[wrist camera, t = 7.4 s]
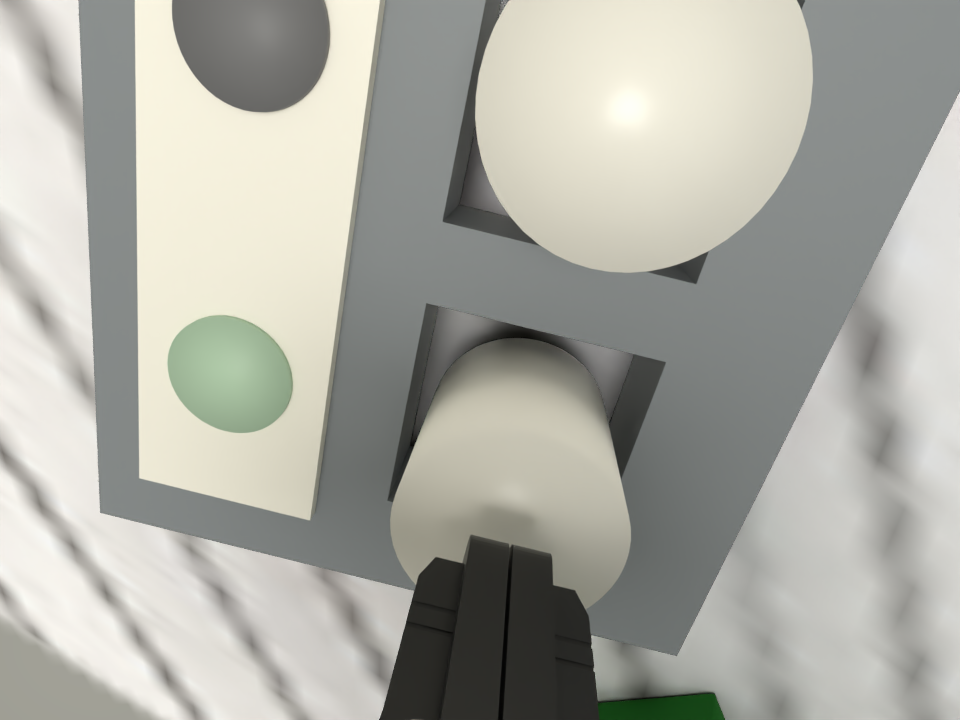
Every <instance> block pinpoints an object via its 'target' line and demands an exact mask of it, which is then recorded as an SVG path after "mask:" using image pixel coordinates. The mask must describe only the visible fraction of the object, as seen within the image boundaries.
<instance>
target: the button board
mask: <svg viewBox="0 0 960 720" xmlns="http://www.w3.org/2000/svg"><path fill="white" fill-rule="evenodd" d="M797 2H798V4H799V6H800V8H801V11H802V14H803V17H804V20H805V23H806V26H807V30H808V34H809V40H810V46H811V52H812V66H813V85H812V95H811V105H810V110H809V114H808V119H807V123H806V128H805V131H804V134H803V136H802V139H801V142H800V145H799V148H798V151H797V153H796V155H795V157H794V159H793V161H792V163H791V165H790V167H789V169H788V171H787V173H786V175H785V176H784V178H783V180H782V181H781V183H780V184H779V186H778V187H777V189H776V191H775V192H774V193H773V195H772V196H771V197H770V198H769V200H768V201H767V202H766V203H765V205H764V206H763V207H762V208H761V210H760V211H759V212H758V213H757V214H756V215H755V216H754V217H753V218H752V219H751V220H750V221H749V222H748V223H747V224H746V225H745V226H744V227H742V228H741V229H740V230H738V231H737V232H736V233H735V234H733V235H732V236H731V237H730V238H728V239H727V240H726V241H724V242H722V243H721V244H719V245H718V246H716V247H714V248H713V249H711V250H710V251H708V252H706V253H704V254H702V255H699V256H697V257H695V258H693V259H691V260H689V261H686V262H683V263H680V264H677V265H674V266H671V267H667V268H662V269H657V270H653V271H646V272H633V273H622V272H607V271H601V270H596V269H590V268H587V267H584V266H581V265H578V264H574V263H571V262H569V261H567V260H565V259H563V258H561V257H559V256H556V255H554V254H553V253H551V252H550V251H548V250H547V249H545V248H543V247H542V246H540V245H539V244H537V243H536V242H535V241H534V240H533V239H532V238H530V237H529V236H528V235H527V234H526V233H525V232H523V231H522V229H521V228H520V227H519V226H518V225H517V224H516V223H515V222H514V221H513V219H512V218H511V217H507V216H503V215H499V214H495V213H491V212H487V211H483V210H479V209H475V208H470V207H466V206H462V205H459V203H460V199H461V194H462V189H463V184H464V179H465V174H466V169H467V164H468V160H469V155H470V150H471V145H472V140H473V135H474V130H475V126H476V121H475V107H476V91H477V84H478V76H479V71H480V67H481V63H482V60H483V56H484V52H485V49H486V46H487V44H488V41H489V39H490V36H491V34H492V31H493V29H494V26H495V24H496V23H497V18H498V14H499V9H500V4H501V0H385V8H384V15H383V22H382V29H381V37H380V44H379V51H378V58H377V66H376V73H375V80H374V88H373V95H372V102H371V109H370V117H369V124H368V131H367V138H366V146H365V153H364V160H363V167H362V175H361V182H360V189H359V197H358V204H357V211H356V218H355V226H354V233H353V240H352V247H351V255H350V262H349V269H348V276H347V284H346V291H345V298H344V305H343V313H342V320H341V327H340V335H339V342H338V349H337V356H336V364H335V371H334V378H333V385H332V393H331V400H330V407H329V414H328V422H327V429H326V436H325V444H324V451H323V458H322V465H321V473H320V480H319V487H318V494H317V502H316V509H315V513H314V515H313V516H312V518H311V520H306V519H302V518H298V517H294V516H290V515H285V514H281V513H277V512H273V511H269V510H265V509H261V508H257V507H253V506H249V505H245V504H241V503H237V502H233V501H229V500H225V499H221V498H217V497H213V496H209V495H205V494H201V493H197V492H193V491H189V490H185V489H181V488H177V487H173V486H169V485H165V484H161V483H157V482H153V481H149V480H144V479H140V478H139V396H138V290H137V184H136V78H135V0H79V22H80V46H81V69H82V93H83V116H84V140H85V164H86V187H87V211H88V234H89V258H90V282H91V305H92V329H93V352H94V376H95V400H96V423H97V447H98V470H99V494H100V513H104V514H108V515H112V516H116V517H120V518H124V519H128V520H132V521H136V522H140V523H144V524H148V525H152V526H156V527H160V528H164V529H168V530H172V531H176V532H180V533H184V534H188V535H192V536H196V537H200V538H204V539H208V540H212V541H216V542H220V543H224V544H228V545H232V546H236V547H240V548H244V549H248V550H252V551H256V552H260V553H264V554H269V555H273V556H277V557H281V558H285V559H289V560H293V561H297V562H301V563H305V564H309V565H313V566H317V567H321V568H325V569H329V570H333V571H337V572H341V573H345V574H349V575H353V576H357V577H361V578H365V579H369V580H373V581H377V582H381V583H385V584H389V585H393V586H397V587H401V588H405V589H409V590H413V591H415V587H416V585H415V583H414V582H413V581H412V580H411V579H410V577H409V576H408V575H407V573H406V572H405V570H404V569H403V567H402V565H401V563H400V561H399V559H398V558H397V555H396V552H395V549H394V546H393V542H392V537H391V530H390V517H391V509H392V505H393V501H394V498H395V494H396V492H397V489H398V487H399V484H400V482H401V479H402V476H403V474H404V471H405V469H406V466H407V464H408V461H409V459H410V456H411V453H412V451H413V448H414V447H410V442H411V437H412V432H413V427H414V422H415V417H416V413H417V408H418V403H419V398H420V393H421V388H422V383H423V379H424V374H425V369H426V364H427V359H428V354H429V349H430V344H431V340H432V335H433V330H434V325H435V320H436V315H437V310H438V306H440V307H444V308H448V309H452V310H456V311H460V312H465V313H469V314H473V315H477V316H481V317H485V318H489V319H493V320H497V321H501V322H505V323H509V324H513V325H517V326H521V327H525V328H530V329H534V330H538V331H542V332H546V333H550V334H554V335H558V336H562V337H566V338H570V339H574V340H578V341H582V342H586V343H590V344H594V345H599V346H603V347H607V348H611V349H615V350H619V351H623V352H627V353H631V354H635V355H634V358H633V360H632V363H631V366H630V369H629V372H628V374H627V377H626V380H625V383H624V385H623V388H622V391H621V394H620V397H619V399H618V402H617V405H616V408H615V411H614V413H613V416H612V419H611V422H610V425H609V428H610V433H611V438H612V442H613V447H614V451H615V456H616V460H617V465H618V469H619V474H620V478H621V483H622V487H623V492H624V496H625V501H626V505H627V510H628V514H629V520H630V526H631V543H630V550H629V555H628V558H627V561H626V564H625V566H624V568H623V570H622V572H621V574H620V576H619V578H618V579H617V581H616V582H615V583H614V585H613V586H612V588H611V589H610V590H609V591H608V592H607V593H606V594H605V595H604V596H603V597H602V598H601V599H599V600H598V601H597V602H596V603H594V604H593V605H592V606H590V607H588V608H587V609H585V610H586V612H587V614H588V615H589V622H590V632H591V635H594V636H598V637H602V638H607V639H611V640H615V641H619V642H623V643H627V644H631V645H635V646H639V647H643V648H647V649H651V650H655V651H659V652H663V653H667V654H671V655H675V656H677V654H678V652H679V650H680V649H681V647H682V645H683V643H684V641H685V639H686V637H687V635H688V633H689V631H690V629H691V627H692V625H693V623H694V621H695V619H696V617H697V615H698V613H699V611H700V609H701V607H702V605H703V603H704V601H705V599H706V597H707V595H708V593H709V591H710V589H711V587H712V585H713V583H714V581H715V579H716V577H717V575H718V573H719V571H720V569H721V567H722V565H723V563H724V561H725V559H726V557H727V555H728V553H729V551H730V549H731V547H732V545H733V543H734V541H735V539H736V537H737V535H738V533H739V531H740V529H741V527H742V525H743V523H744V521H745V519H746V517H747V515H748V513H749V511H750V509H751V507H752V505H753V503H754V501H755V499H756V497H757V495H758V493H759V491H760V489H761V487H762V485H763V483H764V481H765V479H766V477H767V475H768V473H769V471H770V469H771V467H772V465H773V463H774V461H775V459H776V457H777V455H778V453H779V451H780V449H781V447H782V445H783V443H784V441H785V439H786V437H787V435H788V433H789V431H790V429H791V427H792V425H793V423H794V421H795V419H796V417H797V415H798V413H799V411H800V409H801V407H802V405H803V403H804V401H805V399H806V397H807V395H808V393H809V391H810V389H811V387H812V385H813V383H814V381H815V379H816V377H817V375H818V373H819V371H820V369H821V367H822V365H823V363H824V361H825V359H826V357H827V355H828V353H829V351H830V349H831V347H832V345H833V343H834V341H835V339H836V337H837V335H838V333H839V331H840V329H841V327H842V325H843V323H844V321H845V319H846V317H847V315H848V313H849V311H850V309H851V307H852V305H853V303H854V301H855V299H856V297H857V295H858V293H859V291H860V289H861V287H862V285H863V283H864V281H865V279H866V277H867V275H868V273H869V271H870V269H871V267H872V265H873V263H874V261H875V259H876V257H877V255H878V254H879V252H880V250H881V248H882V246H883V244H884V242H885V240H886V238H887V236H888V234H889V232H890V230H891V228H892V226H893V224H894V222H895V220H896V218H897V216H898V214H899V212H900V210H901V208H902V206H903V204H904V202H905V200H906V198H907V196H908V194H909V192H910V190H911V188H912V186H913V184H914V182H915V180H916V178H917V176H918V174H919V172H920V170H921V168H922V166H923V164H924V162H925V160H926V158H927V156H928V154H929V152H930V150H931V148H932V146H933V144H934V142H935V140H936V138H937V136H938V134H939V132H940V130H941V128H942V126H943V124H944V122H945V120H946V118H947V116H948V114H949V112H950V110H951V108H952V106H953V104H954V102H955V100H956V98H957V96H958V94H959V92H960V0H797Z"/></svg>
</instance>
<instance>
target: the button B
mask: <svg viewBox="0 0 960 720" xmlns="http://www.w3.org/2000/svg"><path fill="white" fill-rule="evenodd" d="M812 85H813V66H812V52H811V46H810V40H809V34H808V30H807V26H806V23H805V20H804V17H803V14H802V11H801V8H800V6H799V4H798V2H797V0H509V1H508V3H507V4H506V6H505V8H504V10H503V11H502V13H501V15H500V17H499V19H498V21H497V23H496V24H495V26H494V29H493V31H492V34H491V36H490V39H489V41H488V44H487V46H486V49H485V52H484V56H483V60H482V63H481V67H480V71H479V76H478V84H477V91H476V107H475V121H476V131H477V141H478V146H479V150H480V155H481V159H482V163H483V166H484V169H485V171H486V174H487V177H488V180H489V182H490V184H491V186H492V188H493V190H494V192H495V194H496V196H497V198H498V200H499V201H500V203H501V204H502V206H503V207H504V209H505V210H506V212H507V213H508V214H509V216H510V217H511V218H512V219H513V221H514V222H515V223H516V224H517V225H518V226H519V227H520V228H521V229H522V231H523V232H525V233H526V234H527V235H528V236H529V237H530V238H532V239H533V240H534V241H535V242H536V243H537V244H539V245H540V246H542V247H543V248H545V249H547V250H548V251H550V252H551V253H553V254H554V255H556V256H559V257H561V258H563V259H565V260H567V261H569V262H571V263H574V264H578V265H581V266H584V267H587V268H590V269H596V270H601V271H607V272H622V273H633V272H646V271H653V270H657V269H662V268H667V267H671V266H674V265H677V264H680V263H683V262H686V261H689V260H691V259H693V258H695V257H697V256H699V255H702V254H704V253H706V252H708V251H710V250H711V249H713V248H714V247H716V246H718V245H719V244H721V243H722V242H724V241H726V240H727V239H728V238H730V237H731V236H732V235H733V234H735V233H736V232H737V231H738V230H740V229H741V228H742V227H744V226H745V225H746V224H747V223H748V222H749V221H750V220H751V219H752V218H753V217H754V216H755V215H756V214H757V213H758V212H759V211H760V210H761V208H762V207H763V206H764V205H765V203H766V202H767V201H768V200H769V198H770V197H771V196H772V195H773V193H774V192H775V191H776V189H777V187H778V186H779V184H780V183H781V181H782V180H783V178H784V176H785V175H786V173H787V171H788V169H789V167H790V165H791V163H792V161H793V159H794V157H795V155H796V153H797V151H798V148H799V145H800V142H801V139H802V136H803V134H804V131H805V128H806V123H807V119H808V114H809V110H810V105H811V95H812Z"/></svg>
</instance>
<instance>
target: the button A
mask: <svg viewBox="0 0 960 720" xmlns="http://www.w3.org/2000/svg"><path fill="white" fill-rule="evenodd" d="M390 530H391V537H392V542H393V546H394V549H395V552H396V555H397V558H398V559H399V561H400V563H401V565H402V567H403V569H404V570H405V572H406V573H407V575H408V576H409V577H410V579H411V580H412V581H413V582H414V583H415V585H416V583H417V579H418V576H419V574H420V573H421V572H422V571H423V570H424V569H425V568H426V567H427V566H428V565H429V563H430V562H431V561H432V560H433V559H434V558H435V557H439V558H443V559H447V560H451V561H455V562H459V563H462V562H463V559H464V555H465V551H466V547H467V544H468V540H469V537H470V535H475V536H479V537H483V538H488V539H492V540H496V541H500V542H504V543H508V544H509V547H510V546H511V545H512V544H513V545H517V546H521V547H526V548H530V549H534V550H538V551H542V552H546V553H550V554H551V555H552V564H553V585H555V586H559V587H564V588H568V589H572V590H575V591H576V593H577V595H578V597H579V599H580V601H581V602H582V604H583V606H584V608H585V609H587V608H588V607H590V606H592V605H593V604H594V603H596V602H597V601H598V600H599V599H601V598H602V597H603V596H604V595H605V594H606V593H607V592H608V591H609V590H610V589H611V588H612V586H613V585H614V583H615V582H616V581H617V579H618V578H619V576H620V574H621V572H622V570H623V568H624V566H625V564H626V561H627V558H628V555H629V550H630V543H631V526H630V520H629V514H628V510H627V505H626V501H625V496H624V492H623V487H622V483H621V478H620V474H619V469H618V465H617V460H616V456H615V451H614V447H613V442H612V438H611V433H610V428H609V424H608V419H607V415H606V410H605V406H604V401H603V398H602V395H601V392H600V389H599V387H598V385H597V383H596V381H595V379H594V378H593V377H592V375H591V374H590V372H589V371H588V370H587V369H586V368H585V367H584V366H583V364H582V363H581V362H579V361H578V360H577V359H576V358H574V357H573V356H572V355H570V354H569V353H567V352H566V351H564V350H562V349H560V348H558V347H556V346H554V345H552V344H549V343H545V342H542V341H538V340H533V339H526V338H508V339H500V340H495V341H491V342H488V343H485V344H482V345H480V346H478V347H476V348H473V349H471V350H470V351H468V352H467V353H465V354H464V355H462V356H461V357H460V358H459V359H458V360H456V361H455V362H454V363H453V364H452V365H451V367H450V368H449V369H448V370H447V371H446V373H445V374H444V376H443V377H442V379H441V381H440V383H439V385H438V387H437V390H436V392H435V395H434V397H433V400H432V402H431V405H430V407H429V410H428V413H427V415H426V418H425V420H424V423H423V425H422V428H421V430H420V433H419V436H418V438H417V441H416V443H415V446H414V448H413V451H412V453H411V456H410V459H409V461H408V464H407V466H406V469H405V471H404V474H403V476H402V479H401V482H400V484H399V487H398V489H397V492H396V494H395V498H394V501H393V505H392V509H391V517H390Z"/></svg>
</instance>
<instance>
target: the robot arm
mask: <svg viewBox="0 0 960 720" xmlns="http://www.w3.org/2000/svg"><path fill="white" fill-rule="evenodd" d="M591 644H592V642H591V632H590V622H589V615H588V614H587V612H586V610H585V608H584V606H583V604H582V602H581V601H580V599H579V597H578V595H577V593H576V591H575V590H572V589H568V588H564V587H559V586H555V585H553V564H552V555H551V554H550V553H546V552H542V551H538V550H534V549H530V548H526V547H521V546H517V545H513V544H512V545H511V546H510V547H509V544H508V543H504V542H500V541H496V540H492V539H488V538H483V537H479V536H475V535H470V537H469V540H468V544H467V547H466V551H465V555H464V559H463V562H462V563H459V562H455V561H451V560H447V559H443V558H439V557H435V558H434V559H433V560H432V561H431V562H430V563H429V565H428V566H427V567H426V568H425V569H424V570H423V571H422V572H421V573H420V574H419V576H418V579H417V583H416V587H415V591H414V595H413V598H412V602H411V606H410V610H409V614H408V617H407V621H406V625H405V629H404V632H403V636H402V640H401V644H400V648H399V651H398V655H397V659H396V663H395V666H394V670H393V674H392V678H391V682H390V685H389V689H388V693H387V697H386V701H385V704H384V708H383V711H382V714H381V717H380V719H379V720H599V711H598V701H597V691H596V681H595V672H593V668H594V662H593V652H592V649H591Z"/></svg>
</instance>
